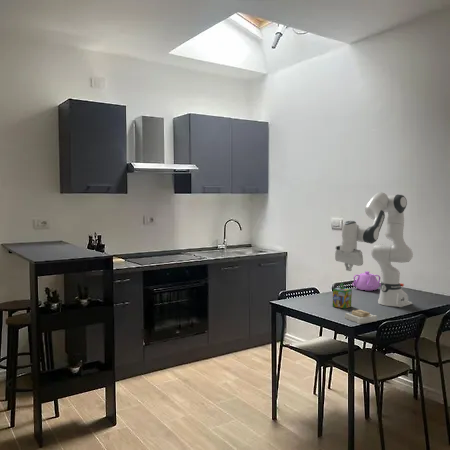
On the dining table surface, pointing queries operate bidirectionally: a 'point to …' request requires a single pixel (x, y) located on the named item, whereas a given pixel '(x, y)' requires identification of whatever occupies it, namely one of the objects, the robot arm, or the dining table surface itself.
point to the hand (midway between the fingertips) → (348, 270)
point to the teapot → (366, 281)
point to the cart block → (360, 313)
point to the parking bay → (361, 318)
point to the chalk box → (342, 297)
